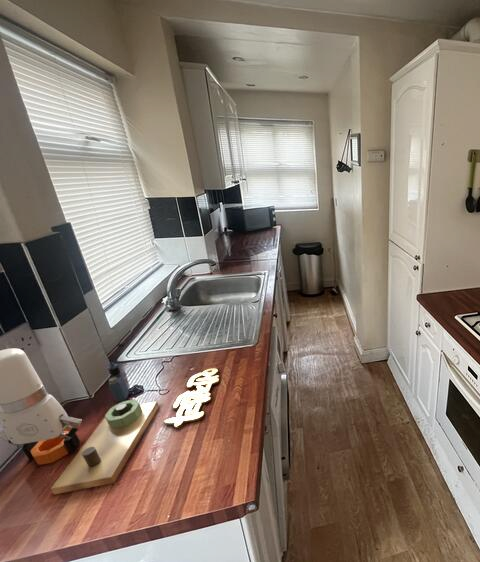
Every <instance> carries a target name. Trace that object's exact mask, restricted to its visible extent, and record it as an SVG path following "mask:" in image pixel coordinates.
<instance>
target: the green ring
mask: <svg viewBox="0 0 480 562" xmlns="http://www.w3.org/2000/svg"><path fill="white" fill-rule="evenodd" d="M121 404H126V405H127V407H128V409H129V412H127V413H125V414H123V415H121V416H118V413H117V411H116V407H117V406H119V405H121ZM140 404H141V403H139V402H138V401H137V399H130V400H125V401H123V402H119V403H117V404H115V405H114V406H112V407H111V408H109V409H108V411H107V412H106V414H105V415H104V418H106V420H107V422H108V424H109V426H110V427H111V428H112V429H115V428H121V427H126V426H127V425H129V424H131V423H132V422H134V421H136V420H137V419H138V418H139V416H140V415H141V413H142V409H141V407H140Z"/></svg>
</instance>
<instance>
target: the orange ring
mask: <svg viewBox="0 0 480 562" xmlns="http://www.w3.org/2000/svg"><path fill="white" fill-rule="evenodd" d="M62 432H64V433H66V434H68V433H69V431H67V430H63V431H62ZM63 442H64V439H62V438H60V437H56V438H53V439H48V440H42V441H38V443H37V444H36V445H35V446H34V447H33V448H32V449H31V451H30V452H31V454H32V456H33V457H34V458H33V460H34V461H35V462H36V463H37V465H38V466H40V465H42V466H43V465H46V464H52V463H54V462H56V461H58V460H60V459H62V458H63V457H65V456H66V455H69V453H70V452H69V451H68V450H67V448H66V446H65V445H64V443H63Z"/></svg>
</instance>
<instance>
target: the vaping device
mask: <svg viewBox="0 0 480 562" xmlns="http://www.w3.org/2000/svg"><path fill="white" fill-rule="evenodd" d="M107 371H108V372H109V374H110V376H111V377H110V378H109V379H108V385H109V386H108V387H109V390H110V391H111V394H112V396H113V398H114V400H115V402H116V403H117V404H119V403H121V402H124V401H127V398H128V396H129V395H130V390H129V388H128V385H127V383H126V380H125V378H124V376H123V374H122V372H121V370H120V367H119V364H117V363H114V362H110V363H109V364H108V366H107Z"/></svg>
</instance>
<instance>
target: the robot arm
mask: <svg viewBox="0 0 480 562" xmlns="http://www.w3.org/2000/svg"><path fill="white" fill-rule="evenodd" d="M82 423H83V420H82V419H81V418H76V417H73V416H69V415H68V413H67V412H66V410H65V409H64V407H63V406H62V405H61V404H60V402H59V401H58V400H57V399H56V397H54V396H53V395H52V394H49V393H48V390H47V389H46V387H45V385H44V383H43V382H42V380H41V378H40V376H39V375H38V373H37V371H36V369H35V368H34V366H33V364H32V362H31V361H30V359H29V356H28V355H27V353H26V352H25V351H24V350H23V349H21V348H16V347H15V348H14V347H13V348H6V349H1V350H0V425H1V427H2V430H3V431H4V432H3V433H1V434H0V439H2V440H3V441H6V442H8V443H9V444H11V445H14V446H16V449H22V451H23V453H24V454H25V455H26V458H27V459H28V460H29V461H31V460H34V457H33V456H32V454H31V452H30V451H31V449H32V448H33V447H34V446H35V445H36V444H37V443H38V442H39V441H42V440H48V439H53V438H56V437H60V438H62V439H64V442H63V443H64V445H65V446H66V448H67V450H68V451H69V453H73V452H74V451H75V450H76V449H77V448H78V446H79V445H80V443H81V441H80V439H79V437H78V435H77V432H78V430H79V429H80V428H81V425H82ZM62 431H69V433H68V434H66V433H64V432H62Z"/></svg>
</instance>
